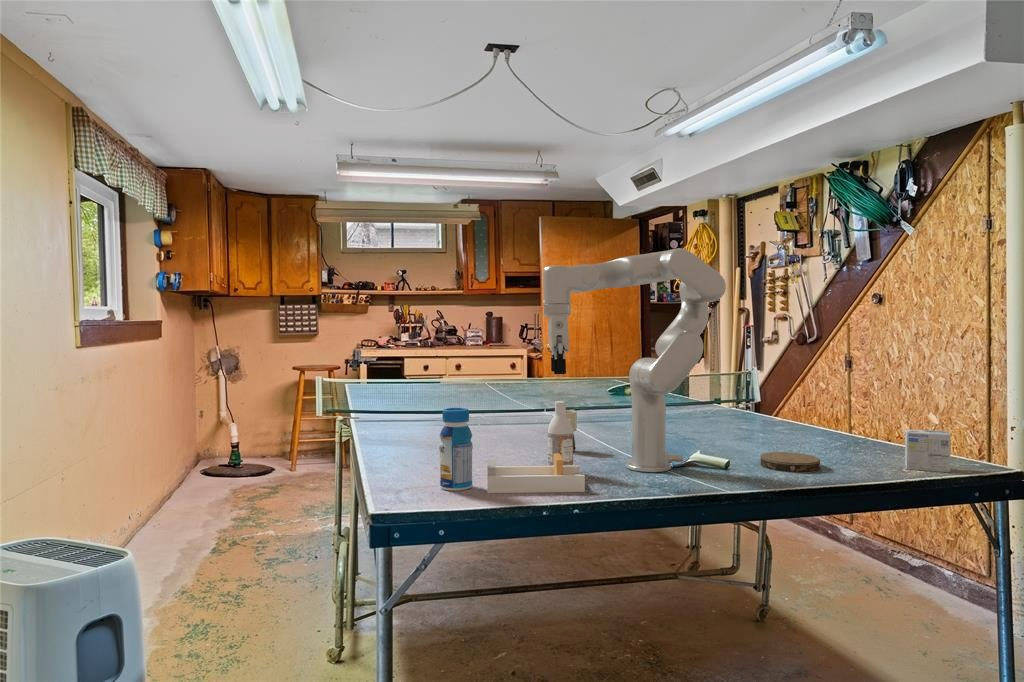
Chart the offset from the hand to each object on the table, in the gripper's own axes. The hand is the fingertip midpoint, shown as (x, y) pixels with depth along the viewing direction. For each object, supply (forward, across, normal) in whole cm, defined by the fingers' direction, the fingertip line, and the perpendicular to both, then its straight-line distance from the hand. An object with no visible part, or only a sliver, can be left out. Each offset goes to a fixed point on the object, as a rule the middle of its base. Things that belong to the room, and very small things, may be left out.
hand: (558, 372), depth 183 cm
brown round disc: (+30, +6, -67) cm, 74 cm away
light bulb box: (+30, +2, -104) cm, 108 cm away
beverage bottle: (+28, -15, +28) cm, 42 cm away
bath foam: (+28, 0, 0) cm, 28 cm away
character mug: (+28, +32, -5) cm, 43 cm away
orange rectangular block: (+27, -14, +2) cm, 30 cm away
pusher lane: (+28, -14, +8) cm, 32 cm away
